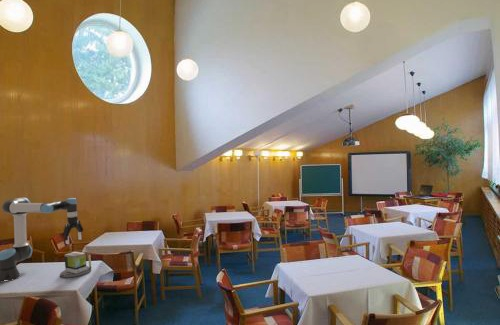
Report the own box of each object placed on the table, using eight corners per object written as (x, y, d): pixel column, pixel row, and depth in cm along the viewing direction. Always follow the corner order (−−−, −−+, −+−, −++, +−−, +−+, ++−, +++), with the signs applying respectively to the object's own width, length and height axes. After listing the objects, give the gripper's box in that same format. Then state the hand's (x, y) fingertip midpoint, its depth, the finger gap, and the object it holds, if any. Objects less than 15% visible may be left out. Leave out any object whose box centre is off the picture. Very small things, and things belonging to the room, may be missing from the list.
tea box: (87, 270, 275) (86, 252, 274) (75, 274, 266) (74, 256, 266) (76, 267, 282) (75, 250, 282) (65, 271, 274) (63, 254, 273)
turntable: (57, 279, 259) (56, 263, 259) (62, 270, 280) (61, 255, 280) (90, 274, 268) (89, 258, 267) (92, 266, 289) (91, 251, 289)
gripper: (64, 219, 260) (65, 246, 260) (87, 213, 284) (88, 237, 284) (56, 219, 261) (58, 245, 262) (79, 213, 286) (81, 237, 286)
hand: (73, 241), depth 273 cm, fingers open, 13 cm apart
